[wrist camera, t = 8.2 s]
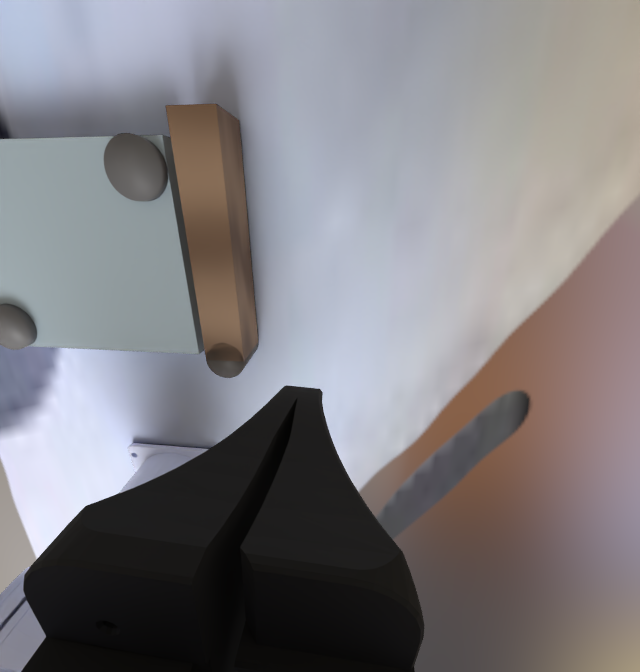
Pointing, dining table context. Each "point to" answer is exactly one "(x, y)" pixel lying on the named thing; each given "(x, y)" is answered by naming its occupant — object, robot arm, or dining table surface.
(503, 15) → the dining table surface
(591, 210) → the dining table surface
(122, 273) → the grey flat block
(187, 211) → the folding leg
